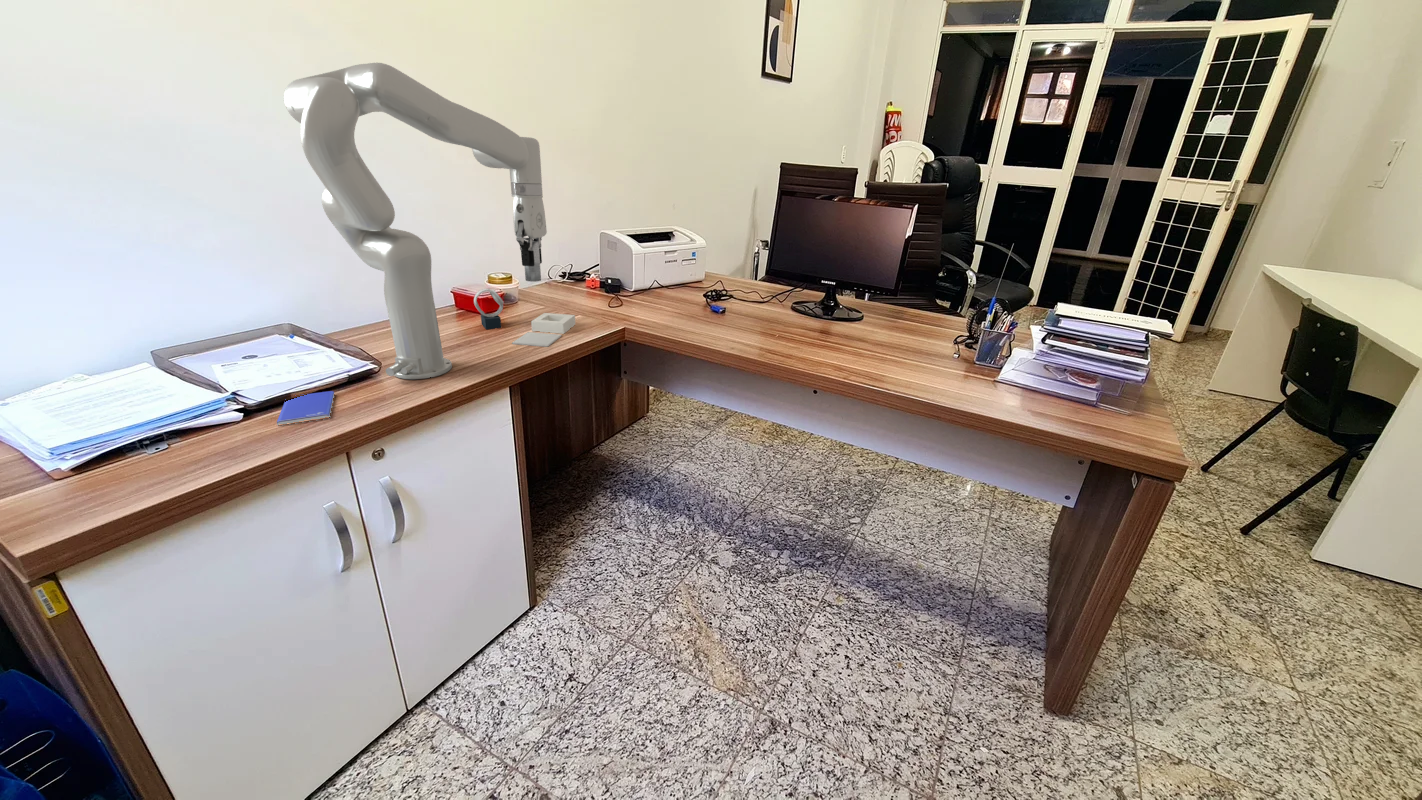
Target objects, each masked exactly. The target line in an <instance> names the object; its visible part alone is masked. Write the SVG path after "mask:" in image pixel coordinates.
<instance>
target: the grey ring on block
mask: <svg viewBox="0 0 1422 800" xmlns="http://www.w3.org/2000/svg"><path fill="white" fill-rule="evenodd" d="M486 292H487V293H488V292H489V294H490V296H491V297H492V298H493V300H494V301H495V302H496V303H497V304H498V305H499V307H498V309H497V311H495V312H493V313H485V312H484V311H483V310H482V309H481V307H480V306H479V303H478V301H477V300H478V298H479V296H480V295H482V294H483V293H486ZM504 303H505V302H504V301H503V298H502V297H501V296H500V295H499V294H498V293H497V291H495V290H494V289H493V288H492V289H490V288H482V289H479V290H478V291H477V292H476V293H475V295H474V297H473V304H474V306H475V308H476V309H477V311H478V312H479V313H480V320H481V322H480V323H481V326H482V325H483V326H482V327H483V328H484V330H495V328H497V329H502V328H501V327H502V319H501V316H499V315H500V314H501V312H502V311H503V309H504Z"/></svg>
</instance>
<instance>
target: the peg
mask: <svg viewBox="0 0 1422 800" xmlns="http://www.w3.org/2000/svg"><path fill="white" fill-rule="evenodd" d="M526 241H527V243H528V240H526ZM532 251H534V263H535V265H534V266H524V275H525V276H524V278H525V281H526V282H541V281H542V275H541V274H542V273H541V271H542V270H541V264H540V255H539V242H538V241H532Z"/></svg>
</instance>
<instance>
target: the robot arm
mask: <svg viewBox="0 0 1422 800" xmlns="http://www.w3.org/2000/svg"><path fill="white" fill-rule="evenodd" d="M283 101H284V106H285V108H286V110H287V112H288V114H290V116H291V117H292V118H293V119H294V120H295V121H296V122H298V123H299V124H300V139H301V140H300V141H301V146H302V150H303V154H304V156H305V158H306V160H307V163H308V164H309V166H310V167H311V168H312V170H313V171H314V173H315V174H316V175H317V177H318V178H319V180H320V182H321V183H322V185H323V186H324V189H323V191H322V194H321V204H322V205H321V206H322V208H323V211H324V213H325V215H326V216H327V219H328V220H329V221H330V222H331V224H332V225H333V226H334V228H335V229H336V230H337V232H338V233H339V234H340V235H341V236H342V238H343V239H344V240H345V242H346V243H347V244H348V246H349V247H350V248H351V250H353V252H354V253H355V255H357V257H359V259H360V260H362V262H364V263H365V264H366V265H367V266H369V267H370V268H373V269H375V270H378V271H381V272H384V279H383V280H384V283H383V295H384V300H385V301H384V302H385V306H386V310H387V314H388V318H389V319H388V320H389V325H390V329H391V333H392V339H393V343H394V349H395V355H396V356H395V357H394V360H395V362H394V363H393V365H391V366H389V367H387V368H386V369H385V373H386V375H388V377H393V376H394V377H396V378H398V379H404V380H423V379H430V377H431V378H435V377H439V376H441V375H443V374H446V373H448V372H449V371H450V370H452V368H453V364H452V361H451V360H450V359H448V358H446V357H444V352H443V346H442V341H441V335H440V334H441V333H440V329H439V321H438V317H437V311H436V305H435V299H434V293H433V286H432V285H433V284H432V256H431V255H432V254H431V252H430V249H429V247H428V245H427V244H426V242H425V241H424V240H423V238H421V237H420V236H419V235H416V234H415V233H413V232H410V231H406V230H401V229H398V228H397V229H396V228H392V227H391V225H392V224H393V223H394V221H395V217H396V212H395V208H394V205H393V203H392V201H391V199H390V198H389V196H388V194H387V193H386V192H385V190H384V189H383V188H382V186H381V185H380V183H379V181H377V179H376V177H375V176H374V175H373V173H372V172H371V170H370V169H369V167H368V166H367V164H366V163H365V162H364V159H363V157H362V156H361V154H360V153H359V151H358V149H357V145H356V142H355V132H356V131H355V130H356V126H357V122H358V119H359V117H362V116H365V115H368V114H371V113H379V112H381V113H384V114H386V115H389V116H391V117H393V118H395V119H396V120H398V121H400V122H403V123H404V124H406V125H408V126H410V127H412V128H414V129H415V130H418V131H420V132H421V133H423V134H425V135H427V136H428V137H431V138H433V139H435V140H438V141H441V142H444V143H448V144H451V145H457V146H462V147H465V148H466V147H467V148H469V149H471V150H472V151H471V152H472V154H473V157H474V159H475V160H476V161H477V162H478V163H479V164H481V165H483V166H484V167H486V168H491V169H505V170H509V180H510V191H511V194H510V195H511V197H512V199H513V200H512V202H513V203H512V205H513V206H512V208H513V214H512V215H513V217H512V218H513V230H514V231H513V232H514V235H515V241H517V243H518V245H519V249H520V254H521V257H520V258H521V265H522V266H523V267H525V266H534V265H535V263H534V251H532V241H538V242H539V255H540V265H541V264H543V263H542V262H543V259H542V239H543V237H545V236H546V235H547V234H548V233H547V232H548V231H547V222H546V221H547V219H546V213H545V205H544V201H543V198H544V197H543V196H544V195H543V183H542V182H543V181H542V178H543V177H542V166H541V165H542V163H541V162H542V161H541V148H540V147H541V146H540V142H539V141H538V139H536V138H533V137H527V136H520V135H518V134H517V133H516V132H514V131H513V130H511V129H509V128H508V127H506V126H505V125H503V124H502V123H500V122H498V121H496V120H494V119H493V118H490V117H489V116H486V115H483V114H482V113H479V112H477V111H474V110H472V109H470V108H467V107H465V106H464V105H461V104H459V103H456V102H454V101H451V100H449V99H448V98H446V97H444V96H443V95H441V94H439V93H438V92H436V91H434V90H432V89H431V88H429V87H427V86H426V85H424V84H423V83H420V82H419V81H417V80H415V79H414V78H412V77H411V76H409V75H408V74H406V73H404V72H403V71H401V70H399V69H397V68H395V66H391V65H389V64H387V63H383V62H369V63H360V64H359V63H358V64H353V65H351V66H346V67H345V68H344V67H343V68H340V69H336V70H332V71H328V72H324V73H323V72H322V73H319V74H316V75H311V76H306V77H301V78H298V79H295V80H292V81H291V82H289V84H288V85H287V86H286V88H285V90H284V92H283ZM527 241H528V243H527Z"/></svg>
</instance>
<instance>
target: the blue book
mask: <svg viewBox="0 0 1422 800" xmlns="http://www.w3.org/2000/svg"><path fill="white" fill-rule="evenodd" d="M306 394H307V395H304V394H303V395H304V396H300V397H297V398H294V399H291V400H288V401H286V402H285V401H284V403H283V405H282V407H281V411H280V412H279V415H278V417H277V421H276V425H279V424H287V423H293V422H299V421H304V420H311V419H320V418H325V417H330V418H331V416H330V413H331V414H332V411H331V408H332V409H333V406H332V403H333V404H334V401H333V398H334V399H335V396H334V394H335V391H334V390H330V391H322V392H313V393H306Z"/></svg>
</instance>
